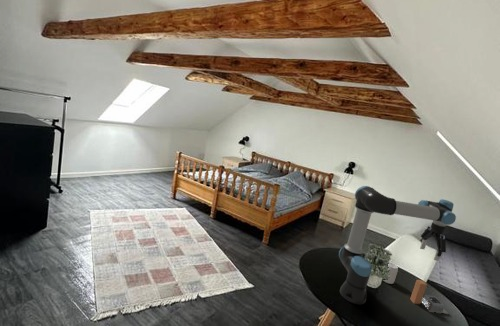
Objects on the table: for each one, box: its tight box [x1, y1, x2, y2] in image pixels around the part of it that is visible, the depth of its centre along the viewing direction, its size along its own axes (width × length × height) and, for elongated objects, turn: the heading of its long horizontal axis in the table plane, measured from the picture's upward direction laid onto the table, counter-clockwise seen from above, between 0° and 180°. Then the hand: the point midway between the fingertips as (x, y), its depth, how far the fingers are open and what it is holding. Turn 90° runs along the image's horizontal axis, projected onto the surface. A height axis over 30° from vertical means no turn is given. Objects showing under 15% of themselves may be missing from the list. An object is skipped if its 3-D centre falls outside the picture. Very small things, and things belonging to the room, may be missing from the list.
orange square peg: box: [410, 279, 428, 305], centre depth 173 cm, size 4×4×14 cm
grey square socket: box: [420, 294, 449, 315], centre depth 173 cm, size 12×12×4 cm
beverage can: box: [382, 262, 399, 285], centre depth 192 cm, size 8×8×12 cm
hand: (428, 254), depth 180 cm, fingers open, 13 cm apart
